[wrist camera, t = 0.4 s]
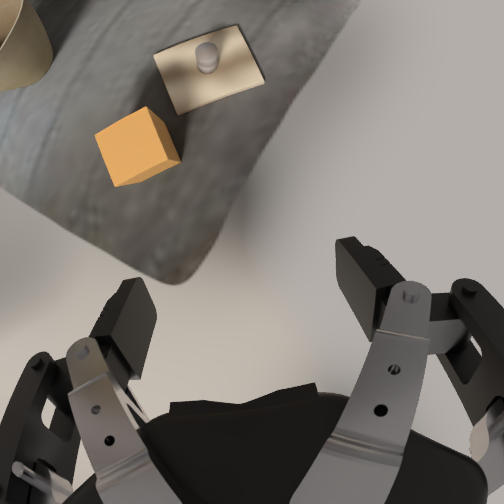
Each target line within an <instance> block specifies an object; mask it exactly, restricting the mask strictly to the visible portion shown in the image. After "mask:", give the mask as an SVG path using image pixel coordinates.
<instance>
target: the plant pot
mask: <svg viewBox="0 0 504 504" xmlns="http://www.w3.org/2000/svg"><path fill="white" fill-rule="evenodd" d="M52 60H53V50H52V47H51V43H50V41H49V38H48V35H47V33H46V30H45V28H44V26H43V24H42V22H41V20H40V18H39V16H38V15H37V13H36V11H35V10H34V8H33V7H32V5H31V4H30V2H29V1H28V0H0V91H6V90H11V89H17V88H21V87H25V86H29V85H32V84H35V83H36V82H38V81H39V80H40V79H41V78H42V77H43V76H44V75H45V74H46V72H47V71H48V69H49V68H50V66H51V63H52Z"/></svg>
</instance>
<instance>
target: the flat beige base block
mask: <svg viewBox="0 0 504 504" xmlns="http://www.w3.org/2000/svg"><path fill="white" fill-rule="evenodd" d="M153 56H154V59H155V61H156V64H157V66H158V69H159V71H160V74H161V76H162V79H163V81H164V83H165V86H166V88H167V91H168V93H169V96H170V98H171V100H172V103H173V105H174V108H175V110H176V112H177V115H178V116H180V115H182V114H184V113H186V112H189V111H191V110H193V109H196V108H198V107H201V106H203V105H206V104H208V103H211V102H213V101H216V100H218V99H221V98H224V97H226V96H229V95H232V94H235V93H238V92H241V91H244V90H247V89H250V88H253V87H256V86H259V85H262V84H264V79H263V77H262V75H261V73H260V71H259V69H258V67H257V65H256V63H255V60H254V58H253V56H252V54H251V52H250V50H249V48H248V46H247V44H246V42H245V40H244V38H243V36H242V35H241V33H240V31H239V29H238V27H237V25H236V26H232V27H229V28H225V29H222V30H219V31H215V32H212V33H209V34H206V35H203V36H200V37H197V38H195V39H192V40H189V41H186V42H184V43H181V44H179V45H176V46H174V47H171V48H169V49H166V50H164V51H162V52H159V53H157V54H155V55H153Z"/></svg>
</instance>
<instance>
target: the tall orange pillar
mask: <svg viewBox="0 0 504 504" xmlns="http://www.w3.org/2000/svg"><path fill="white" fill-rule="evenodd" d="M95 137H96V140H97V143H98V145H99V148H100V151H101V153H102V156H103V158H104V161H105V164H106V166H107V169H108V171H109V173H110V176H111V178H112V181H113V183H114V186H115V187H117V186H122V185H127V184H133V183H138V182H142V181H144V180H146V179H148V178H150V177H152V176H154V175H156V174H158V173H160V172H162V171H164V170H166V169H168V168H170V167H172V166H174V165H176V164H179V163H181V161H180V158H179V156H178V154H177V151H176V149H175V146H174V144H173V142H172V139H171V137H170V134H169V132H168V130H167V127H166V125H165V122H163V121H162V120H161V119H160V118H159V117H158V116H157V115H156V114H155V113H153V112H152V111H151V110H150V109H149V108H148V107H147V106H146V107H144V108H142V109H140V110H138V111H136V112H134V113H132V114H130V115H128V116H127V117H125V118H123V119H121V120H119V121H118V122H116V123H114V124H112V125H111V126H109V127H107V128H106V129H104V130H102V131H101V132H99V133H97V134H96V135H95Z"/></svg>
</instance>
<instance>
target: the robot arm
mask: <svg viewBox="0 0 504 504" xmlns="http://www.w3.org/2000/svg"><path fill="white" fill-rule="evenodd" d="M335 251H336V276H337V281H338V285H339V287H340V289H341V290H342V292H343V294H344V296H345V298H346V300H347V301H348V303H349V305H350V307H351V309H352V310H353V312H354V314H355V316H356V318H357V319H358V321H359V323H360V325H361V327H362V329H363V331H364V333H365V334H366V336H367V338H368V340H369V342H372V344H371V347H370V350H369V352H368V355H367V357H366V360H365V363H364V365H363V368H362V370H361V373H360V375H359V377H358V380H357V382H356V385H355V387H354V389H353V391H352V394H351V396H350V397H348V396H344V395H341V394H336V393H326V392H317V388H316V385H315V383H310V384H306V385H301V386H297V387H292V388H287V389H281V390H278V391H275V392H272V393H270V394H267V395H265V396H262V397H259V398H257V399H254V400H251V401H249V402H246V403H242V404H232V403H223V402H214V401H206V400H199V401H185V402H171V403H170V410H169V413H166V414H163V415H160V416H158V417H156V418H154V419H152V420H151V421H150V420H149V418H148V417H147V415H146V413H145V412H144V410H143V409H142V407H141V405H140V404H139V402H138V400H137V399H136V397H135V395H134V394H133V392H132V390H131V389H130V387H129V386H128V381H129V380H139V379H141V375H142V371H143V367H144V363H145V359H146V356H147V352H148V348H149V344H150V341H151V338H152V334H153V330H154V327H155V323H156V320H157V314H156V309H155V306H154V304H153V301H152V299H151V297H150V295H149V292H148V290H147V288H146V286H145V284H144V281H143V279H142V278H141V277H137V278H132V279H126V280H123V281H122V284H121V285H120V287H119V289H118V290H117V292H116V293H115V294H114V295H113V296H112V297H111V298H110V299H109V300H108V301H107V303H106V305H105V307H104V308H103V311H102V312H101V314H100V317H99V318H98V320H97V321H96V323H95V325H94V327H93V329H92V331H91V333H90V335H89V337H87V338H82V339H80V340H78V341H76V342H75V343H74V344H73V345H72V346H71V347H70V348H69V350H68V351H67V354H66V357H65V358H62V359H59V360H56V361H54V360H53V359H52V357H51V356H50V355H49V353H47V352H40V353H37V354H36V355H34V356H33V357H32V358H31V359H30V360H29V361H28V363H27V364H26V366H25V368H24V370H23V373H22V375H21V377H20V379H19V381H18V383H17V385H16V387H15V390H14V392H13V394H12V397H11V399H10V401H9V404H8V406H7V408H6V411H5V413H4V416H3V419H2V421H1V424H0V504H486V503H487V497H488V495H489V494H491V493H492V492H494V491H495V490H496V489H498V488H499V487H501V486H502V485H503V484H504V308H503V307H502V306H501V305H500V304H499V303H498V302H497V300H496V299H495V298H494V297H493V296H492V295H491V294H490V293H489V292H488V291H487V290H486V289H485V288H484V287H483V286H482V285H481V284H480V283H479V282H477V281H475V280H472V279H467V278H463V279H458V280H456V281H455V282H454V283H453V284H452V287H451V291H450V293H434V294H433V293H432V294H431V292H430V290H429V289H428V288H427V287H426V286H424V285H423V284H421V283H418V282H414V281H406V280H405V279H404V278H403V276H402V275H401V274H400V273H399V272H398V271H397V270H396V269H395V268H394V267H393V266H392V264H390V262H389V261H388V260H387V259H385V257H384V256H383V255H382V254H381V253H380V252H379V251H378V250H376V249H374V248H372V247H370V246H363V245H362V244H361V243H360V242H359V241H358V240H357V239H356V237H354V236H353V237H348V238H342V239H337V240H336V243H335ZM471 336H473V338H474V339H475V340H476V342H477V343H478V345H479V346H480V348H481V351H482V357H481V355H480V354H479V352H478V351H477V349H476V348H475V347H474V345H473V343H472V342H471V340H470V339H471ZM430 354H436V355H437V357H438V359H439V360H440V362H441V364H442V366H443V367H444V370H445V371H446V373H447V375H448V377H449V379H450V380H451V382H452V384H453V386H454V388H455V390H456V392H457V394H458V396H459V398H460V400H461V402H462V403H463V406H464V408H465V410H466V412H467V414H468V416H469V418H470V420H471V423H472V425H473V429H472V431H471V434H470V448H469V451H470V453H471V454H472V456H471V458H470V457H469V456H466V455H464V454H462V453H459V452H457V451H455V450H453V449H451V448H449V447H446V446H444V445H442V444H440V443H438V442H435V441H434V440H432V439H430V438H428V437H425V436H423V435H421V434H419V433H417V432H415V431H414V430H412V429H411V426H412V423H413V419H414V415H415V412H416V407H417V404H418V400H419V396H420V392H421V387H422V383H423V378H424V373H425V367H426V362H427V355H430ZM47 398H48V399H49V400H50V401H51V402H52V403H53V404H54V405H55V406H56V409H55V412H54V415H53V418H52V421H51V424H50V428H49V429H48V428H47V427H46V426H44V424H43V422H42V419H41V413H42V410H43V407H44V405H45V402H46V399H47ZM81 439H82V442H83V445H84V447H85V450H86V453H87V455H88V457H89V460H90V462H91V465H92V467H93V469H94V471H95V473H94V474H93V475H92V476H91V477H90V478H88V479H87V480H86V481H85V482H84V483H83V484H82V485H81V486H80V487H79V488H78V489H77V490H76V491H74V492H73V488H72V483H73V477H74V471H75V464H76V460H77V455H78V449H79V445H80V440H81Z"/></svg>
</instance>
